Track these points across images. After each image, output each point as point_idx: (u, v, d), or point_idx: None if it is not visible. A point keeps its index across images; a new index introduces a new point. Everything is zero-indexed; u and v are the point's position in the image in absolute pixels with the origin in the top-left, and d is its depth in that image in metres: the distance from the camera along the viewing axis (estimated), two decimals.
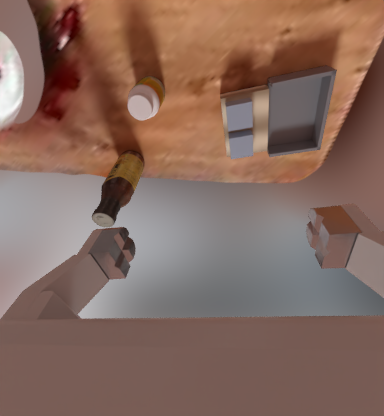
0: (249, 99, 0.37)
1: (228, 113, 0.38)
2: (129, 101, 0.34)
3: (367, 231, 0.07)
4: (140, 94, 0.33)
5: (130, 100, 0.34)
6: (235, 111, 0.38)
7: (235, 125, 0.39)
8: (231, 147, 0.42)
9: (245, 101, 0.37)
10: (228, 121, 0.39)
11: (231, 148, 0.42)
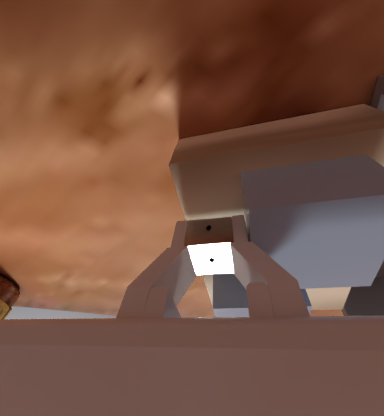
0: (376, 169, 0.07)
1: (260, 236, 0.07)
2: None
3: (238, 241, 0.07)
4: None
5: None
6: (298, 231, 0.07)
7: None
8: None
9: (360, 182, 0.07)
10: None
11: None
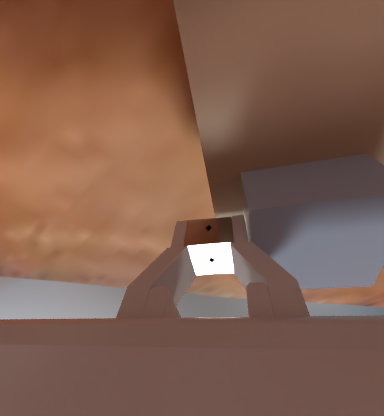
0: None
1: None
2: None
3: (238, 241, 0.07)
4: None
5: None
6: None
7: None
8: None
9: None
10: None
11: None
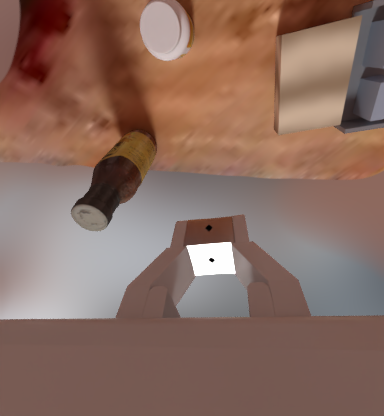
0: None
1: None
2: (143, 15, 0.20)
3: (238, 241, 0.07)
4: (162, 1, 0.20)
5: (145, 12, 0.20)
6: None
7: None
8: None
9: None
10: None
11: None
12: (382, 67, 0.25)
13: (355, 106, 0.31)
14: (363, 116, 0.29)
